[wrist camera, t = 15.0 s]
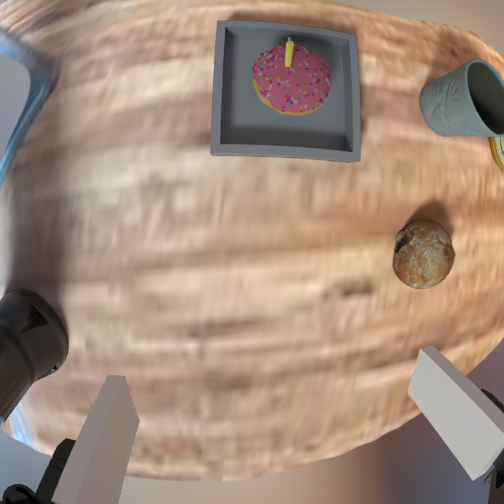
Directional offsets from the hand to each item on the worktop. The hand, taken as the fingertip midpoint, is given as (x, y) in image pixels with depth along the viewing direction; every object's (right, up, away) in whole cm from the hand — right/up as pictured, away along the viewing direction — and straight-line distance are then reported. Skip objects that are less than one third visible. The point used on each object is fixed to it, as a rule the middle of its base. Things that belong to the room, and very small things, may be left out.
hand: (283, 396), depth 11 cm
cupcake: (+3, +25, +20) cm, 33 cm away
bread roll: (+23, +6, +28) cm, 37 cm away
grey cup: (+27, +27, +22) cm, 44 cm away
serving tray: (+3, +26, +21) cm, 33 cm away
